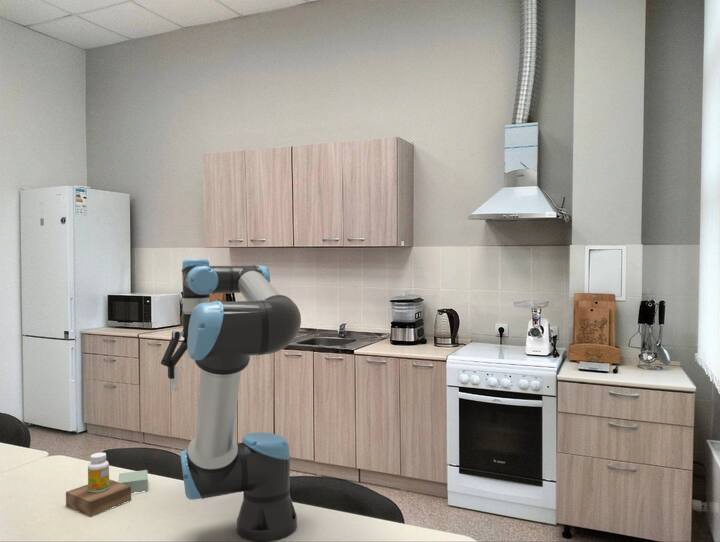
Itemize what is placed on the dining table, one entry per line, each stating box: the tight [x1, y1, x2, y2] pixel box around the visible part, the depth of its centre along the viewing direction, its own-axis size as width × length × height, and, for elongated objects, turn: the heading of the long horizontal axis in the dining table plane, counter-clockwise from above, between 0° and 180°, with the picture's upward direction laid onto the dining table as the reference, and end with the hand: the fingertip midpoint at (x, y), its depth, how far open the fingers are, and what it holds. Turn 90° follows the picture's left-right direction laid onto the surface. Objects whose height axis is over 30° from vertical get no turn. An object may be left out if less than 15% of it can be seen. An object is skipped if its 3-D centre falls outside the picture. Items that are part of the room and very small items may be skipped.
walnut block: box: [65, 478, 132, 518], centre depth 158 cm, size 12×12×4 cm
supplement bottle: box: [87, 452, 110, 493], centre depth 158 cm, size 5×5×10 cm
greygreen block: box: [117, 469, 149, 493], centre depth 169 cm, size 8×8×4 cm
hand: (197, 386), depth 163 cm, fingers open, 13 cm apart
